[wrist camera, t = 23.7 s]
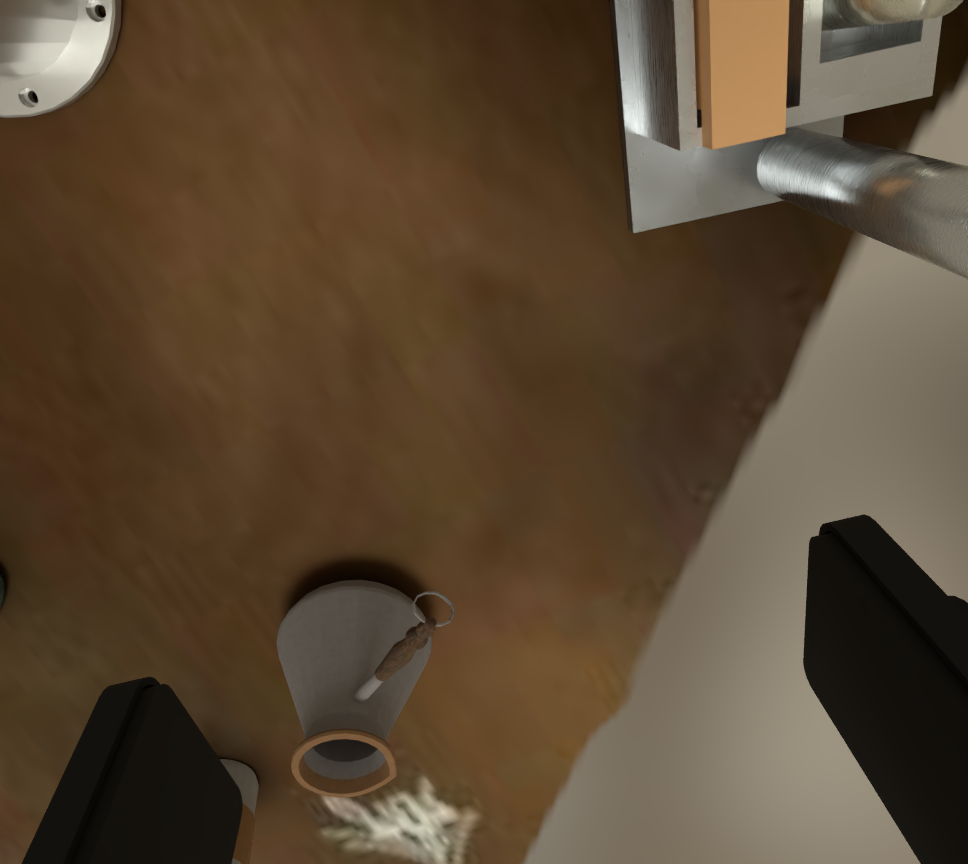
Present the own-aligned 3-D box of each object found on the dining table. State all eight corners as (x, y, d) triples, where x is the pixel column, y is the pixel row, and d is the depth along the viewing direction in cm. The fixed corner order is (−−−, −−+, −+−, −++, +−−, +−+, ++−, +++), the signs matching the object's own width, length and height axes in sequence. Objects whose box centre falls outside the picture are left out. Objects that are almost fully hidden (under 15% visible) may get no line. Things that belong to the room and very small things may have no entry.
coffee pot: (401, 679, 57) (397, 865, 45) (265, 649, 54) (219, 839, 41) (506, 483, 48) (540, 644, 35) (350, 433, 45) (324, 589, 32)
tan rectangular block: (643, -76, 32) (707, -109, 25) (711, -91, 32) (793, -129, 25) (655, 129, 36) (712, 149, 29) (715, 116, 36) (785, 133, 29)
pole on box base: (602, -83, 33) (813, -223, 15) (850, -139, 32) (1348, -345, 15) (628, 229, 40) (790, 370, 23) (829, 184, 40) (1146, 294, 23)
